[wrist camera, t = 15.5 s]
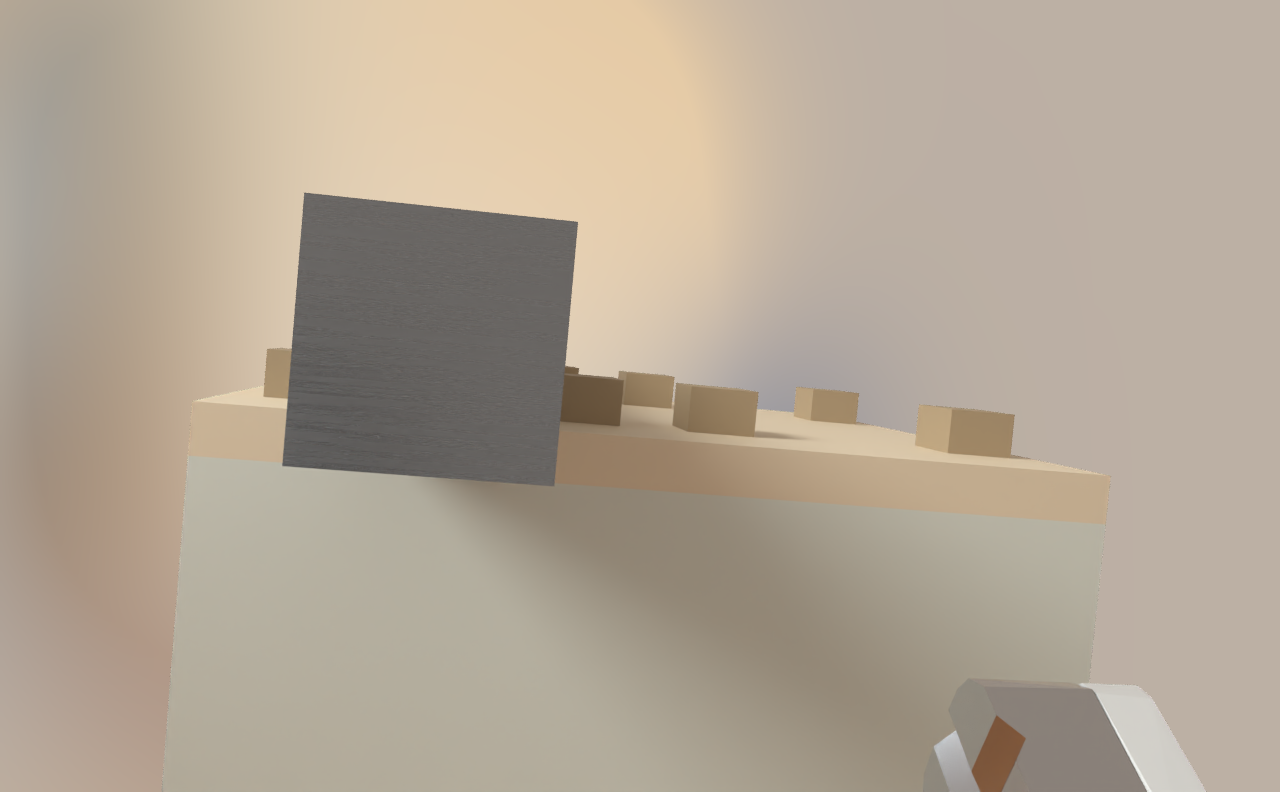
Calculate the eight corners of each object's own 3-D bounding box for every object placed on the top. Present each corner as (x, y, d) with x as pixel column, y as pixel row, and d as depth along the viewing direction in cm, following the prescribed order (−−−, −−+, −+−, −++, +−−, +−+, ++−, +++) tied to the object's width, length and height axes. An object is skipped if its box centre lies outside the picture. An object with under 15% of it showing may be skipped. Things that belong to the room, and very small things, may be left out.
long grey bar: (554, 486, 13) (577, 221, 13) (282, 466, 13) (304, 193, 13) (500, 388, 41) (508, 301, 41) (412, 380, 41) (420, 293, 41)
